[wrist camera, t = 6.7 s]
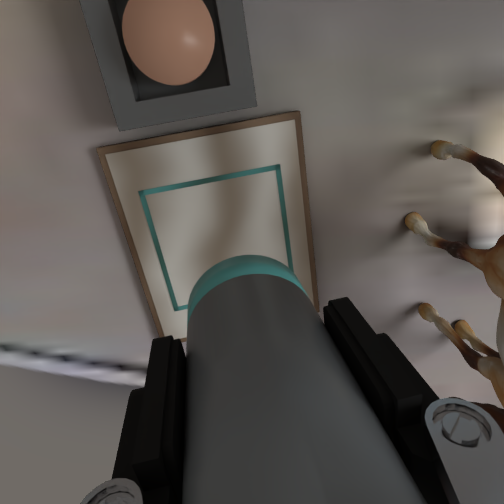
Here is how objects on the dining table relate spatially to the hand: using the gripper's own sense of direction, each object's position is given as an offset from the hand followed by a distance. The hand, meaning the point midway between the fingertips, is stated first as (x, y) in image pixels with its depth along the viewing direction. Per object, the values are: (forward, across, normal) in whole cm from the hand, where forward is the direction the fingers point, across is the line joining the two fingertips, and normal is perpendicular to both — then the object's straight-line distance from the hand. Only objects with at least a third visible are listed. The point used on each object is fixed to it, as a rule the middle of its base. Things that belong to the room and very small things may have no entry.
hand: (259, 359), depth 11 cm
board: (+20, 0, +4) cm, 20 cm away
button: (+17, +1, -11) cm, 20 cm away
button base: (+20, +1, -11) cm, 23 cm away
